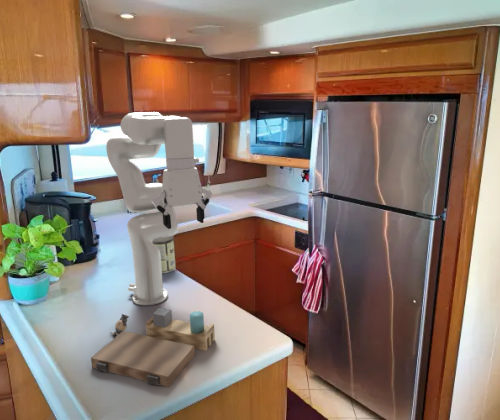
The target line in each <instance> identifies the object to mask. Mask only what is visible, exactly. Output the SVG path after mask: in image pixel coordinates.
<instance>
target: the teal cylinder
mask: <svg viewBox="0 0 500 420" xmlns="http://www.w3.org/2000/svg"><path fill="white" fill-rule="evenodd" d="M204 319H205V318H204V313H203V312H202V311H199V310H197V311H193V312H190V313H189V322H190V329H191V332H192V333H195V334H198V333H201V332H203V331H204V325H205V321H204Z"/></svg>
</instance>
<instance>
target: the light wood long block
mask: <svg viewBox="0 0 500 420" xmlns="http://www.w3.org/2000/svg"><path fill="white" fill-rule="evenodd" d="M145 332H146V336H150V337H154V338H159V339H164V340H169V341H173V342H178V343H183V344H187V345H192V346H194V350H195V349H196V350H202V351H205V352H206V351H207V350H208V346H209V347H210V346H211V345H212V342H214V341H215V340H216V337H215V335H216V332H215V324H214V323H210V324H209V325H205V324H204V331H203V332H201V333H198V334H195V333H192V332H191V329H190V321H184V320H178V319H173V318H172V322H171V323H170V324H169V325H168V326H167V327H166V328H164V327H159V326H154V322H153V316H152V317H150V318H149V319H148V320H147V321H146V322H145Z"/></svg>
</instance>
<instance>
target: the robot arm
mask: <svg viewBox="0 0 500 420" xmlns="http://www.w3.org/2000/svg"><path fill="white" fill-rule="evenodd" d="M120 130H121V131H122V133H123V134H124V135H123V134H122V135H117V136H113V137H111V138H109V139H108V140H107V142H106V144H105V145H106V147H105V148H106V149H105V151H106V156H107V159H108V162H109V164H110V166H111V167H112V169H113V170H114V172H115V174H116V176H117V178H118V182H119V186H120V189H121V193H122V196H123V201H124V204H125V206H126V209H127V211H129V212H130V213H140V212H147V211H148V213H144V214H143V213H142V214H137V215H136V216H133V217H131V218H130V219H129V220H128V222H127V224H126V225H127V226H126V228H127V233H128V237H129V241H130V245H131V250H132V251H131V252H132V260H133V261H132V262H133V271H134V281H135V283H133V282H131V283H129V286H128V289H127V291H129V292H133V294H132V302H133V303H135V304H136V305H140V306H154V305H157V304H161V303H162V302H165V301H166V300H167V299H168V297H169V292H168V291H167V290H166V289H165V288H164V286H163V285H164V284H163V283H164V282H163V273H162V269H161V256H160V250H159V249H158V247H157V246H156V245H154V244H153V243H152V241H153V240H157V239H160V238H165V237H170V236H173V237H174V236H175V235H177V232H178V229H179V225H178V224H179V223H178V218H177V215H176V212H175V209H174V208H176V207H184V206H190V205H191V206H192V205H196V206H197V207H195V208H196V210H195V211H196V221H197V222H199V223H201V224H204V220H205V209H206V206H207V205H208V204H209V202H210V199H211V197H212V195H213V193H212V191H210V190H207V189H205V188H202V186H201V184H202V183H201V179H200V174H199V171H198V168H197V167H196V164H198V163H200V159H199V158H198V157H195V150H194V149H195V148H194V132H193V131H194V130H193V122H192V120H191V118H190V117H186V116H183V117H181V116H177V115H169V116H168V115H166V116H165V115H164V116H163V114H161V113H159V112H157V111H156V112H155V111H153V112H152V111H151V112H150V111H149V112H146V111H145V112H131V113H127V114H125V115H124V117H123V118H122V119H121V122H120ZM162 145H164V148H165V149H164V150H165V151H164V152H165V160H166V161H165V163H166V164H165V165H166V169H164V170H163V174H162V183H160V182H151V183H146V181H145V178H144V174H143V172H142V170H141V169H140V168H139V167H138V166H137V165H136V164H135V163H133V162H132V161H130V160H139V159H146V158H147V159H148V158H149V159H150V158H154V157H155V156H157V155H158V153H159V151H160V149H161V146H162ZM202 194H204V197H202V196H203V195H202ZM202 198H203V199H202ZM154 210H157V211H156V212H150V213H149V211H154Z"/></svg>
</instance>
